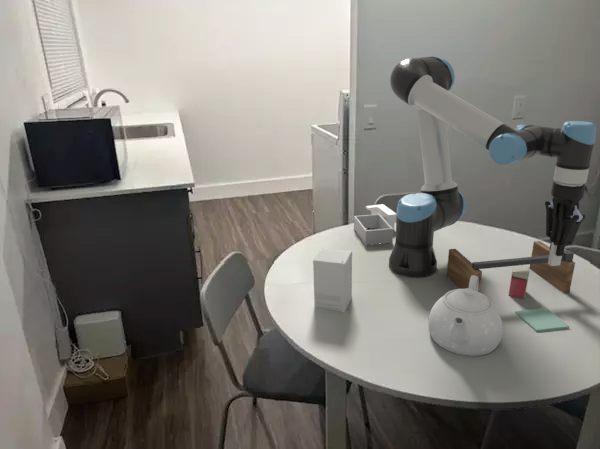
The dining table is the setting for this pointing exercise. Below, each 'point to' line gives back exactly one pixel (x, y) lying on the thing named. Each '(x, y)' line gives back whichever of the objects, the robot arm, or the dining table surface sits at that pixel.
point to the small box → (519, 281)
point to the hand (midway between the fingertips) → (553, 264)
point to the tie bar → (520, 261)
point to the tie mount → (556, 275)
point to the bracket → (384, 213)
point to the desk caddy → (373, 236)
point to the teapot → (466, 321)
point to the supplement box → (333, 279)
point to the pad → (542, 319)
